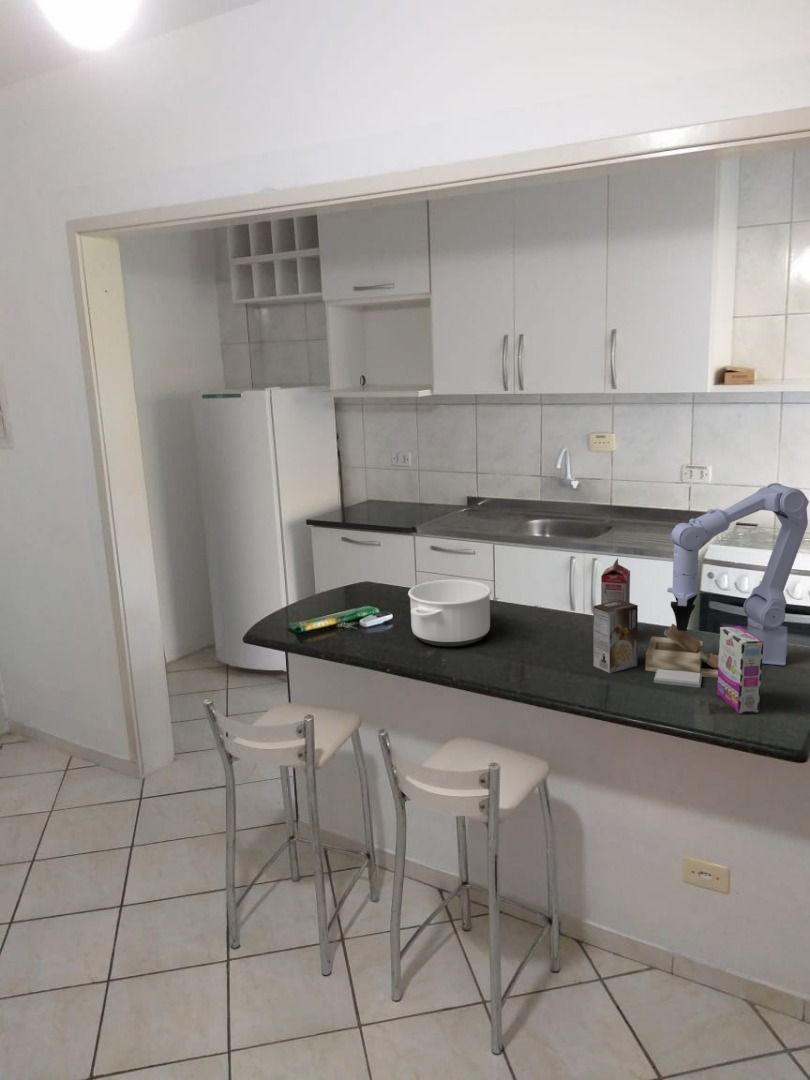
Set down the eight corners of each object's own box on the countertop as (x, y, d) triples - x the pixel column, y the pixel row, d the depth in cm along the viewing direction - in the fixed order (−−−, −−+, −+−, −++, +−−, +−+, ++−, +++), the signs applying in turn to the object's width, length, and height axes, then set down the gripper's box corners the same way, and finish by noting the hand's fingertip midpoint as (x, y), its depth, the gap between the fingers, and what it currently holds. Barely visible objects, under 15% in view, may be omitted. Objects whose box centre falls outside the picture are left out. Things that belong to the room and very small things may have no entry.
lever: (715, 663, 211) (719, 658, 211) (714, 671, 206) (718, 667, 205) (665, 628, 214) (668, 624, 214) (662, 636, 209) (666, 631, 208)
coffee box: (620, 658, 217) (621, 598, 214) (637, 666, 212) (639, 605, 208) (592, 666, 213) (592, 605, 210) (609, 674, 208) (610, 611, 204)
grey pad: (701, 677, 203) (702, 672, 203) (700, 687, 197) (700, 682, 197) (656, 672, 207) (656, 668, 207) (653, 682, 201) (653, 678, 201)
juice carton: (600, 641, 230) (601, 563, 225) (604, 634, 236) (605, 557, 231) (625, 644, 227) (626, 565, 222) (628, 636, 233) (630, 558, 228)
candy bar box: (760, 713, 183) (764, 641, 179) (738, 714, 183) (742, 643, 179) (736, 692, 194) (740, 624, 190) (715, 694, 193) (718, 626, 190)
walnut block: (695, 648, 211) (700, 642, 211) (694, 653, 208) (699, 647, 207) (668, 629, 213) (672, 623, 212) (666, 634, 209) (671, 628, 208)
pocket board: (720, 659, 214) (721, 642, 213) (718, 677, 202) (719, 660, 201) (651, 652, 220) (651, 636, 219) (645, 670, 209) (645, 653, 208)
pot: (456, 662, 219) (455, 612, 216) (383, 648, 232) (381, 600, 229) (514, 625, 246) (514, 580, 243) (446, 614, 259) (445, 571, 256)
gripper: (670, 564, 214) (668, 615, 217) (665, 579, 201) (663, 633, 204) (700, 565, 212) (697, 617, 215) (696, 581, 199) (694, 636, 202)
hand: (683, 625), depth 209 cm, fingers open, 7 cm apart
